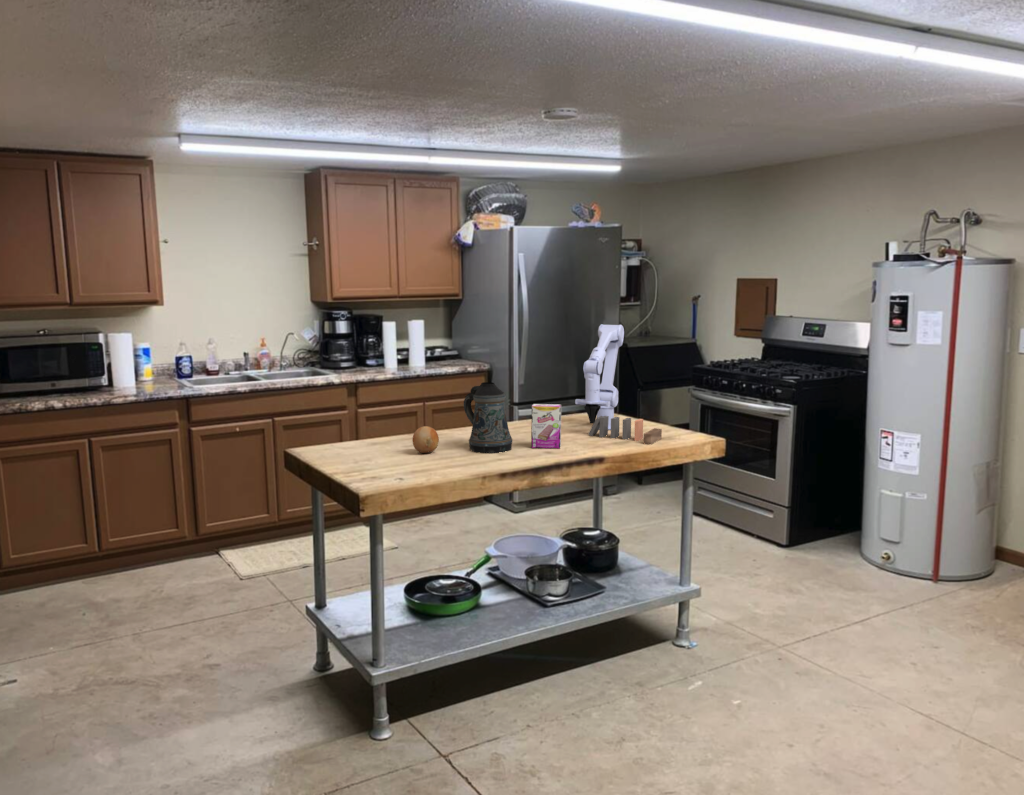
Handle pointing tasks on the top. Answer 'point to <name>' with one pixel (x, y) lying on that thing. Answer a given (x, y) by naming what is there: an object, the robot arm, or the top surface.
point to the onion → (425, 439)
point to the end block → (652, 436)
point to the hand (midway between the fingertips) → (592, 422)
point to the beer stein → (488, 419)
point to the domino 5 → (638, 429)
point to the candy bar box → (546, 426)
